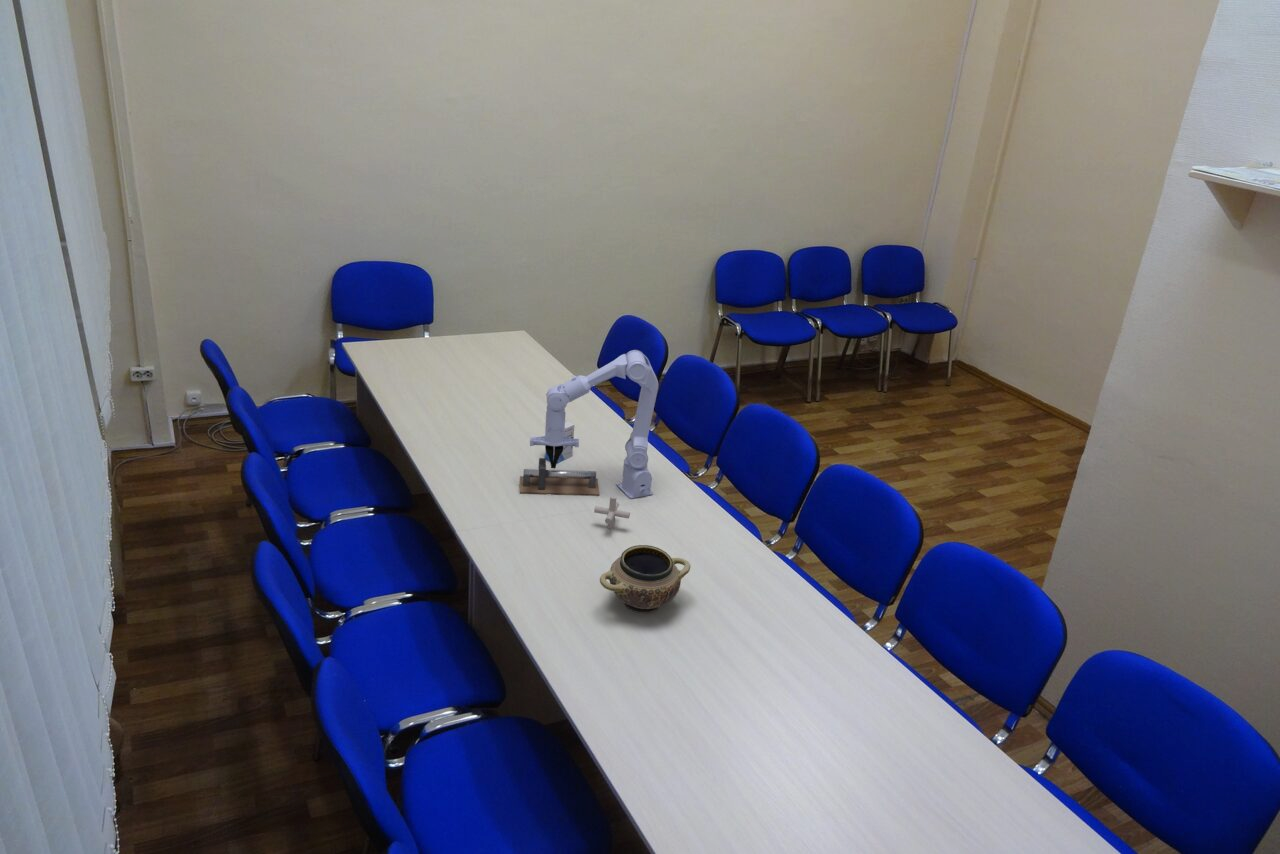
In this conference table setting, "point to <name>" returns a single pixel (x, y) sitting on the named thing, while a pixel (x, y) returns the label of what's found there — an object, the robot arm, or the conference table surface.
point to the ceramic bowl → (645, 578)
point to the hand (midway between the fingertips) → (553, 466)
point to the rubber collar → (542, 473)
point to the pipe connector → (612, 512)
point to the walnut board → (560, 487)
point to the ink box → (566, 449)
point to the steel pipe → (560, 475)
